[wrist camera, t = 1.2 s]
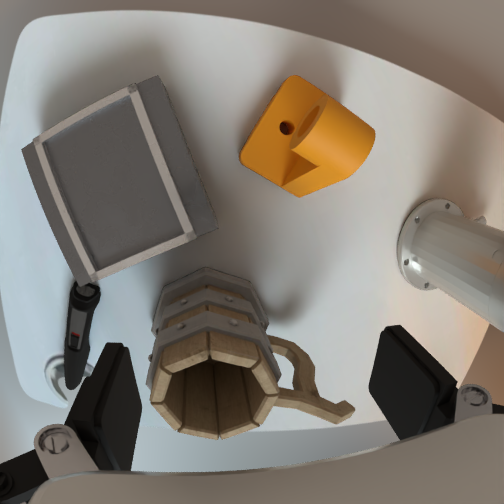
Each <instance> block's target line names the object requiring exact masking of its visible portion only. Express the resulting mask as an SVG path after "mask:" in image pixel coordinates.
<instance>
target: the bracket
mask: <svg viewBox="0 0 504 504" xmlns="http://www.w3.org/2000/svg"><path fill="white" fill-rule="evenodd" d="M280 123H284V124H286V125H287V127H288V133H287V134H286V135H284V134H282V133H281V131H280V129H279V126H280ZM374 141H375V130H374V129H373V128H372V127H371V126H369V125H368V124H367V123H366V122H364V121H363V120H362V119H360V118H359V117H358V116H356V115H355V114H354V113H352V112H351V111H350V110H348V109H347V108H346V107H344V106H343V105H341V104H340V103H339V102H337V101H336V100H334V99H333V98H332V97H330V96H329V95H327V94H326V93H324V92H323V91H321V90H320V89H318V88H317V87H315V86H314V85H312V84H311V83H309V82H308V81H306V80H305V79H303V78H301V77H300V76H297V75H293V76H290V77H289V78H287V79H286V80H285V81H284V82H283V83H282V85H281V86H280V88H279V90H278V91H277V93H276V94H275V95H274V96H273V98H272V100H271V101H270V103H269V104H268V106H267V107H266V109H265V111H264V112H263V114H262V116H261V117H260V119H259V120H258V122H257V124H256V125H255V127H254V129H253V130H252V132H251V134H250V135H249V137H248V139H247V141H246V143H245V145H244V146H243V148H242V150H241V151H240V153H239V161H240V162H241V164H242V165H244V166H245V167H247V168H249V169H251V170H252V171H254V172H256V173H258V174H259V175H261V176H263V177H264V178H266V179H268V180H270V181H271V182H273V183H275V184H276V185H278V186H280V187H281V188H283V189H285V190H286V191H288V192H290V193H291V194H293V195H295V196H297V197H299V198H300V197H302V196H305V195H307V194H310V193H312V192H314V191H317V190H319V189H322V188H324V187H327V186H329V185H332V184H334V183H336V182H339V181H341V180H344V179H346V178H348V177H349V176H351V175H352V174H353V173H354V172H355V171H356V170H357V169H358V168H359V167H360V166H361V165H362V164H363V162H364V161H365V160H366V158H367V156H368V155H369V153H370V151H371V149H372V147H373V144H374Z"/></svg>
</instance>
